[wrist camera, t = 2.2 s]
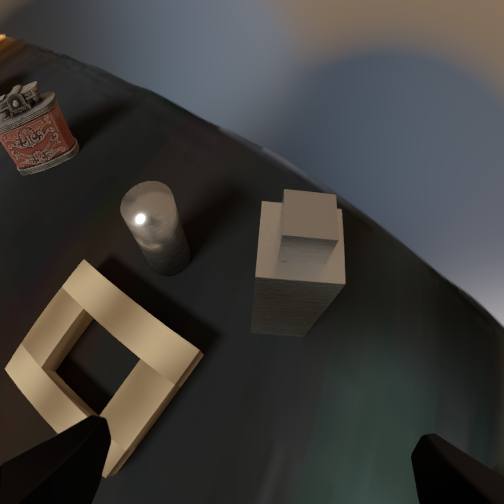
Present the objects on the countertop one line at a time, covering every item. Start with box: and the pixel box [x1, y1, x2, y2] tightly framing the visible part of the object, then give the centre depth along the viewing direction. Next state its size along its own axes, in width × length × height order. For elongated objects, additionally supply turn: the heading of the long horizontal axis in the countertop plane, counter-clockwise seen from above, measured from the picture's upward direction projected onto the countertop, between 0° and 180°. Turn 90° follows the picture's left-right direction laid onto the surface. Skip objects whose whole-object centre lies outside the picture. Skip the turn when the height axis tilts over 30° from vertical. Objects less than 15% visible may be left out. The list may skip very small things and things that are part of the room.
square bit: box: [251, 189, 345, 337], centre depth 17 cm, size 4×4×12 cm
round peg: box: [121, 181, 190, 276], centre depth 21 cm, size 3×3×7 cm
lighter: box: [0, 82, 79, 175], centre depth 24 cm, size 8×3×10 cm, turn 105°
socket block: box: [5, 260, 204, 478], centre depth 19 cm, size 11×11×2 cm
